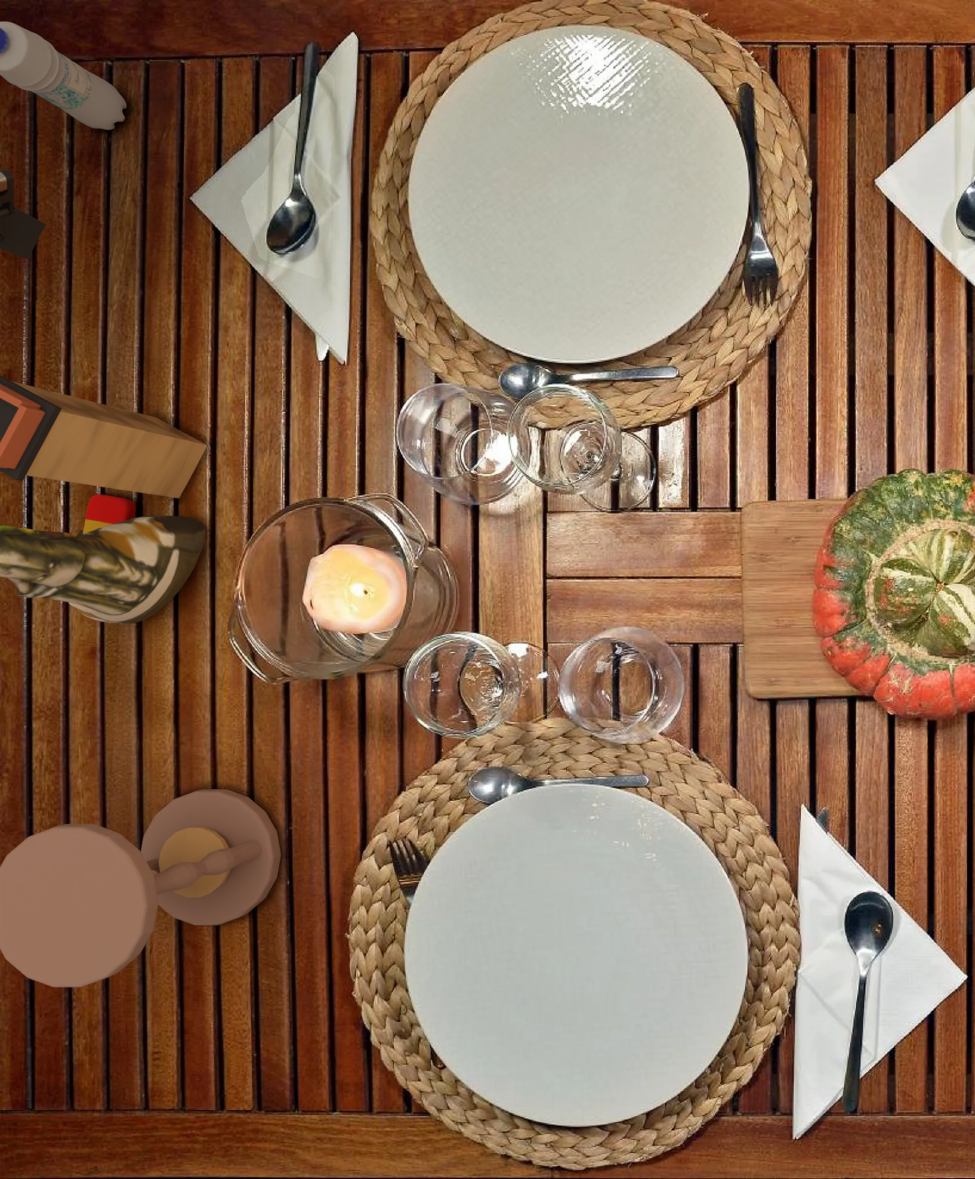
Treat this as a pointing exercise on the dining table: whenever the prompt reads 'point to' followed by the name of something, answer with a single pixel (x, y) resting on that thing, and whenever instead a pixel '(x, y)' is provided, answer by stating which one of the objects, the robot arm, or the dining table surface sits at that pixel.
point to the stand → (114, 448)
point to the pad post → (20, 233)
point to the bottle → (57, 78)
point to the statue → (105, 565)
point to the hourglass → (131, 885)
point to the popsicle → (107, 511)
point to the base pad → (22, 427)
